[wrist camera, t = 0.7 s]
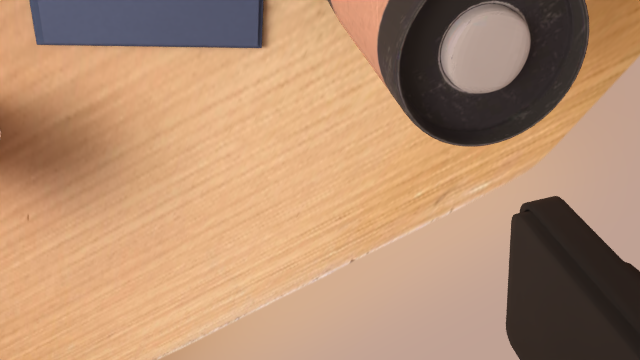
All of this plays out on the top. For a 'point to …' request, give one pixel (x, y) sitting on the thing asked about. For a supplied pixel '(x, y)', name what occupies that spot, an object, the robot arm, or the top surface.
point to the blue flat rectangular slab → (149, 23)
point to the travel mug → (471, 60)
